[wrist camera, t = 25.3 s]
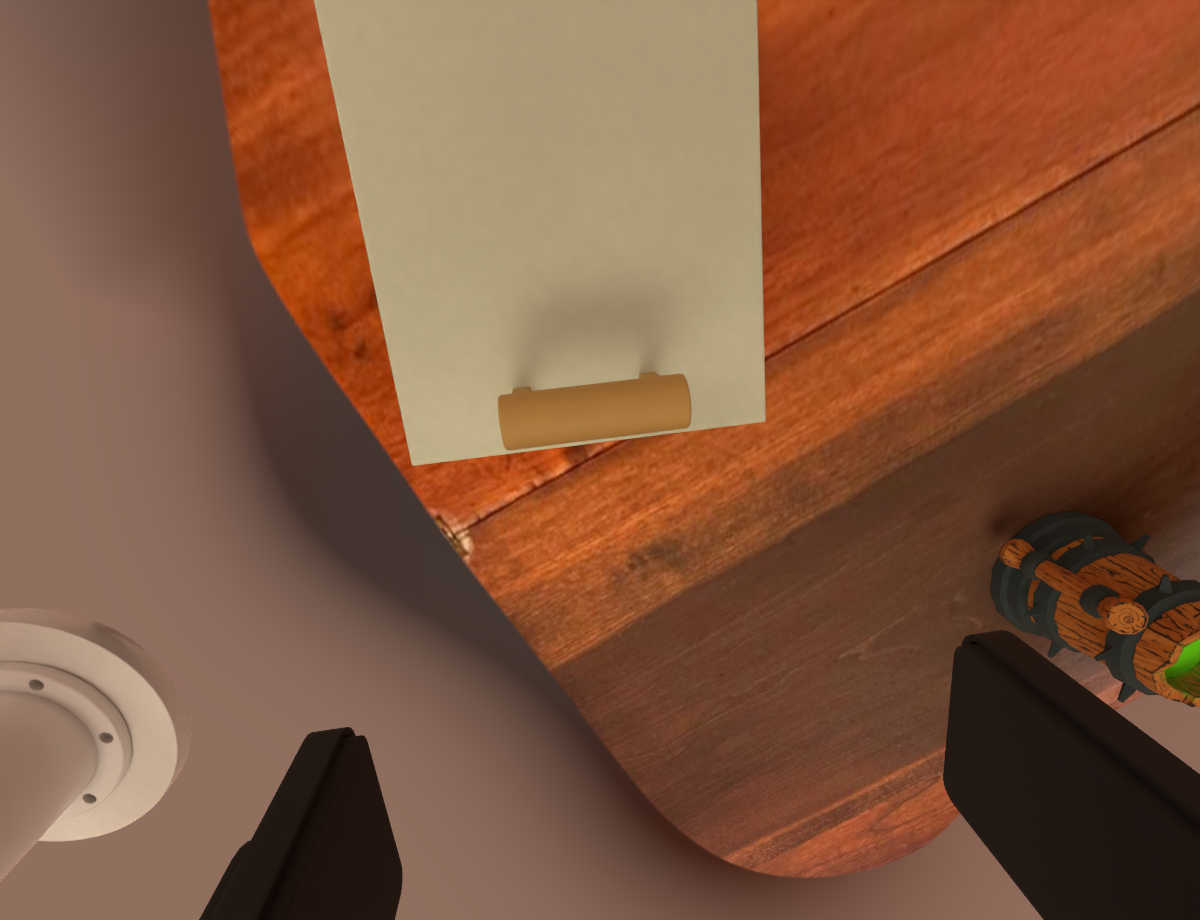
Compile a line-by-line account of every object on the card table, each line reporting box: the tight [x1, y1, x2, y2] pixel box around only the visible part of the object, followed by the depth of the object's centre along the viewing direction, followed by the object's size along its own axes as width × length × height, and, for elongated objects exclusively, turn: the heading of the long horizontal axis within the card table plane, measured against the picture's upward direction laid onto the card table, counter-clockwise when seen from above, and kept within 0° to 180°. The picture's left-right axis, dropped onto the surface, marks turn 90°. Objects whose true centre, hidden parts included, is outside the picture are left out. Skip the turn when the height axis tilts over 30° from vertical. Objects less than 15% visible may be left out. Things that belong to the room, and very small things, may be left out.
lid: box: [314, 0, 766, 466], centre depth 19 cm, size 18×15×6 cm
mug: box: [990, 511, 1200, 707], centre depth 37 cm, size 13×10×12 cm
